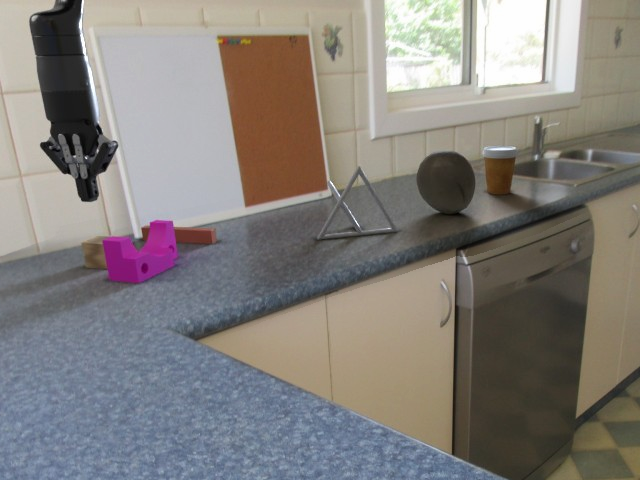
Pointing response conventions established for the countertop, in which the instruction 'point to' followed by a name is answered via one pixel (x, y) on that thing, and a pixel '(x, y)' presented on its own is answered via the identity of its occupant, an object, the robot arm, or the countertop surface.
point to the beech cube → (94, 252)
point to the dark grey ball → (446, 181)
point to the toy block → (141, 254)
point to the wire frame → (349, 214)
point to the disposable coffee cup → (499, 168)
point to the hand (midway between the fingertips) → (89, 200)
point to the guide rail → (188, 234)
